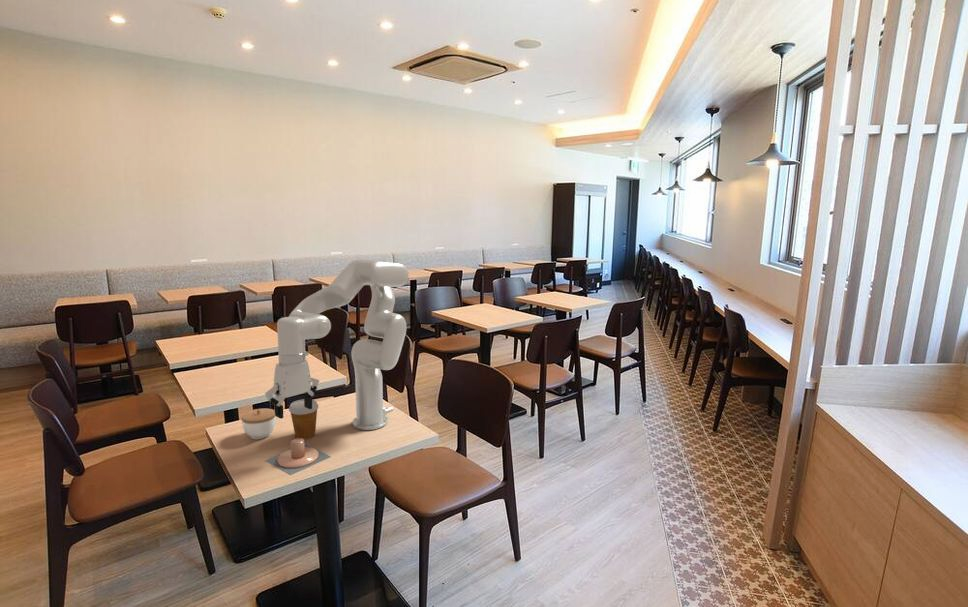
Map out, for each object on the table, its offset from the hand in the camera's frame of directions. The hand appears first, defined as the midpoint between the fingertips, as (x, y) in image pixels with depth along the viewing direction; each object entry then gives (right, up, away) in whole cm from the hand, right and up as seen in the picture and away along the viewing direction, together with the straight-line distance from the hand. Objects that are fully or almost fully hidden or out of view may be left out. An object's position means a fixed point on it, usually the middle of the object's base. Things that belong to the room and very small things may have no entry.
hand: (294, 412), depth 149 cm
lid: (0, -15, +3) cm, 15 cm away
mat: (0, -16, +3) cm, 16 cm away
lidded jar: (-20, -13, +20) cm, 31 cm away
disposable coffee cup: (-4, -13, +20) cm, 24 cm away
